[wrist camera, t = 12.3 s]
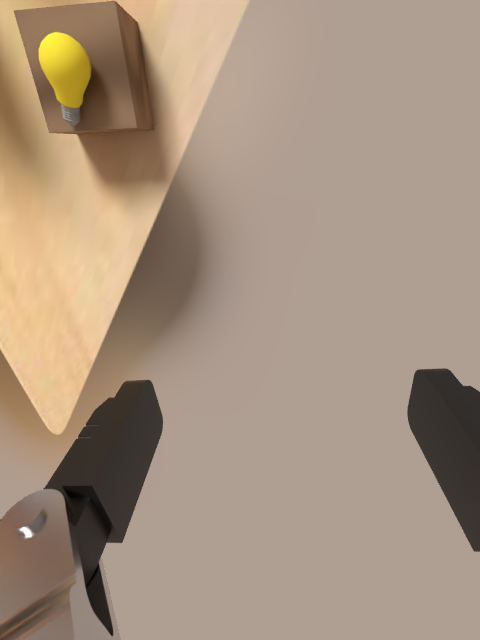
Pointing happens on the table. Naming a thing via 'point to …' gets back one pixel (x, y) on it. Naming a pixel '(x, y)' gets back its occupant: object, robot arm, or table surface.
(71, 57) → the light bulb
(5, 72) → the table surface
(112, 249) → the table surface
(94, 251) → the table surface
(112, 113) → the walnut block
